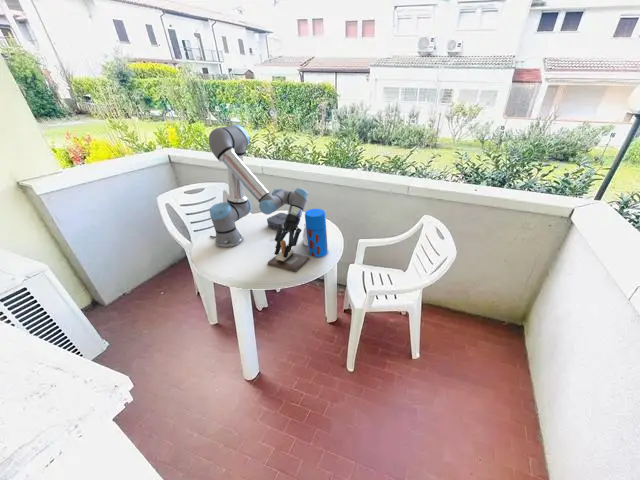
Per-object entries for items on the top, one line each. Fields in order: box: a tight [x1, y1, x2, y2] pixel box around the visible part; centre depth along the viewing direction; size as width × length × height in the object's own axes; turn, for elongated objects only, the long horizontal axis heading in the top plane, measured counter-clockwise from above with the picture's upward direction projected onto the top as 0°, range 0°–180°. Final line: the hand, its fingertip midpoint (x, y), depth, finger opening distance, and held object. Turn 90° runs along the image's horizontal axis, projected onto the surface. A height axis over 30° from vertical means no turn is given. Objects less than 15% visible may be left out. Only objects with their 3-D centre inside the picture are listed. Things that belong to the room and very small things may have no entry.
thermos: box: [304, 208, 328, 258], centre depth 157 cm, size 11×11×25 cm
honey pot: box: [302, 222, 308, 247], centre depth 169 cm, size 13×13×18 cm
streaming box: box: [266, 212, 288, 231], centre depth 192 cm, size 14×14×5 cm
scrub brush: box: [274, 239, 295, 263], centre depth 153 cm, size 10×5×10 cm, turn 157°
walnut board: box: [267, 252, 310, 273], centre depth 155 cm, size 18×14×2 cm
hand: (280, 255), depth 152 cm, fingers closed on scrub brush, 5 cm apart
